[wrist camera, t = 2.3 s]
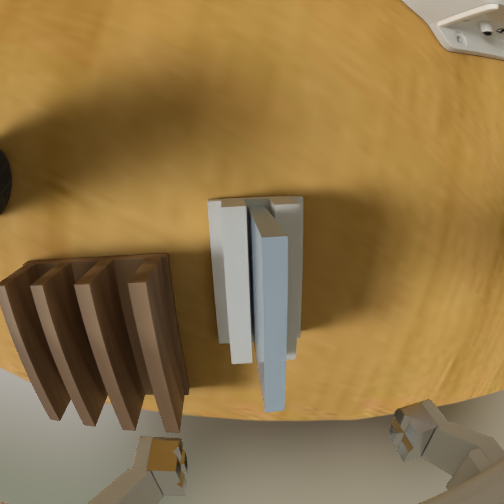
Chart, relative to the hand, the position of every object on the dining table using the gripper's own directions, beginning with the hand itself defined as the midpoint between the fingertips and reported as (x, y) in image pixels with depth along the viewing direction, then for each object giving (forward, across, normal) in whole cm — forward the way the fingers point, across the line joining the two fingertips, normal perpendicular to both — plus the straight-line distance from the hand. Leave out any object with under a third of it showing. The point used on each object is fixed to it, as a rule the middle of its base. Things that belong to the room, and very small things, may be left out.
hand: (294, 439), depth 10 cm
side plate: (+15, 0, -1) cm, 16 cm away
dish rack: (+17, +14, +4) cm, 22 cm away
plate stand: (+16, 0, -1) cm, 17 cm away
